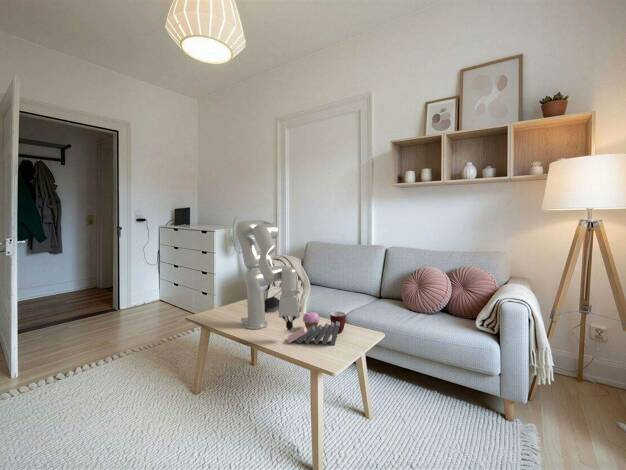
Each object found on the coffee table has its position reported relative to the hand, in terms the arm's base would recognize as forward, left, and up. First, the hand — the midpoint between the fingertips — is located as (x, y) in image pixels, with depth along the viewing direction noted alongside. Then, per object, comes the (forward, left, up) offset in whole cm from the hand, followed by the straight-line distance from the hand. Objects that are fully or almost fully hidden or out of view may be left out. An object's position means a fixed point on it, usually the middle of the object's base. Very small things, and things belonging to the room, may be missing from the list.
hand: (289, 329), depth 152 cm
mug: (+24, +15, -6) cm, 29 cm away
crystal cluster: (-22, +48, -6) cm, 53 cm away
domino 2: (+9, 0, -5) cm, 10 cm away
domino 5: (+21, 0, -6) cm, 22 cm away
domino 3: (+13, 0, -6) cm, 14 cm away
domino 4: (+17, 0, -6) cm, 18 cm away
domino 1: (+4, 0, -5) cm, 7 cm away
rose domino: (0, 0, -5) cm, 5 cm away
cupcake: (+9, +15, -6) cm, 19 cm away
